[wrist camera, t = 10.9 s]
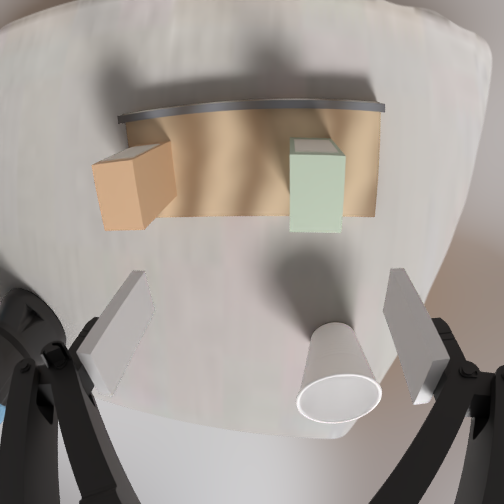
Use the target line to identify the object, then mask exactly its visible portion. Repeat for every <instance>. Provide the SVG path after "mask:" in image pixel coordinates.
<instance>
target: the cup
mask: <svg viewBox="0 0 504 504" xmlns="http://www.w3.org/2000/svg"><path fill="white" fill-rule="evenodd" d="M381 396H382V390H381V386H380V384H379V383H378V382H377V381H376V379H375V377H374V374H373V372H372V370H371V368H370V366H369V363H368V361H367V359H366V357H365V355H364V352H363V350H362V348H361V345H360V343H359V341H358V339H357V336H356V334H355V332H354V330H353V329H352V328H351V327H350V326H348V325H346V324H344V323H338V322H333V323H328V324H325V325H322V326H320V327H319V328H318V329H316V330H315V331H314V333H313V334H312V336H311V341H310V346H309V351H308V356H307V361H306V366H305V370H304V375H303V379H302V384H301V388H300V391H299V393H298V395H297V397H296V406H297V408H298V410H299V412H300V413H301V414H302V415H304V416H305V417H307V418H309V419H311V420H313V421H317V422H322V423H342V422H347V421H351V420H354V419H357V418H359V417H362V416H364V415H365V414H367V413H369V412H370V411H371V410H372V409H374V408H375V407H376V405H377V404H378V403H379V401H380V399H381Z"/></svg>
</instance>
